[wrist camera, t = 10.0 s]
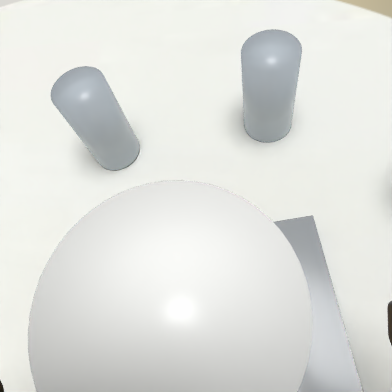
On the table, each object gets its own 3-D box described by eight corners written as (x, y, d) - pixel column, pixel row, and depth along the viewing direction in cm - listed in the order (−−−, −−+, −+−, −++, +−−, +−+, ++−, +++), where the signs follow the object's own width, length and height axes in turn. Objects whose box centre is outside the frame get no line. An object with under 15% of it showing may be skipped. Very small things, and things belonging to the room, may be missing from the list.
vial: (214, 433, 17) (128, 575, 5) (151, 343, 19) (-16, 290, 7) (293, 357, 17) (379, 325, 6) (225, 279, 19) (187, 137, 8)
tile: (385, 482, 15) (390, 486, 15) (108, 513, 16) (103, 518, 16) (311, 219, 21) (312, 215, 20) (105, 253, 22) (101, 250, 21)
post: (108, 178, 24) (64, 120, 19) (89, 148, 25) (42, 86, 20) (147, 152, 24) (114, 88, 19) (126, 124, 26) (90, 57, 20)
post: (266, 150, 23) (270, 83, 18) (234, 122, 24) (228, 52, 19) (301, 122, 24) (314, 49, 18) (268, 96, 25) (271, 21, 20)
